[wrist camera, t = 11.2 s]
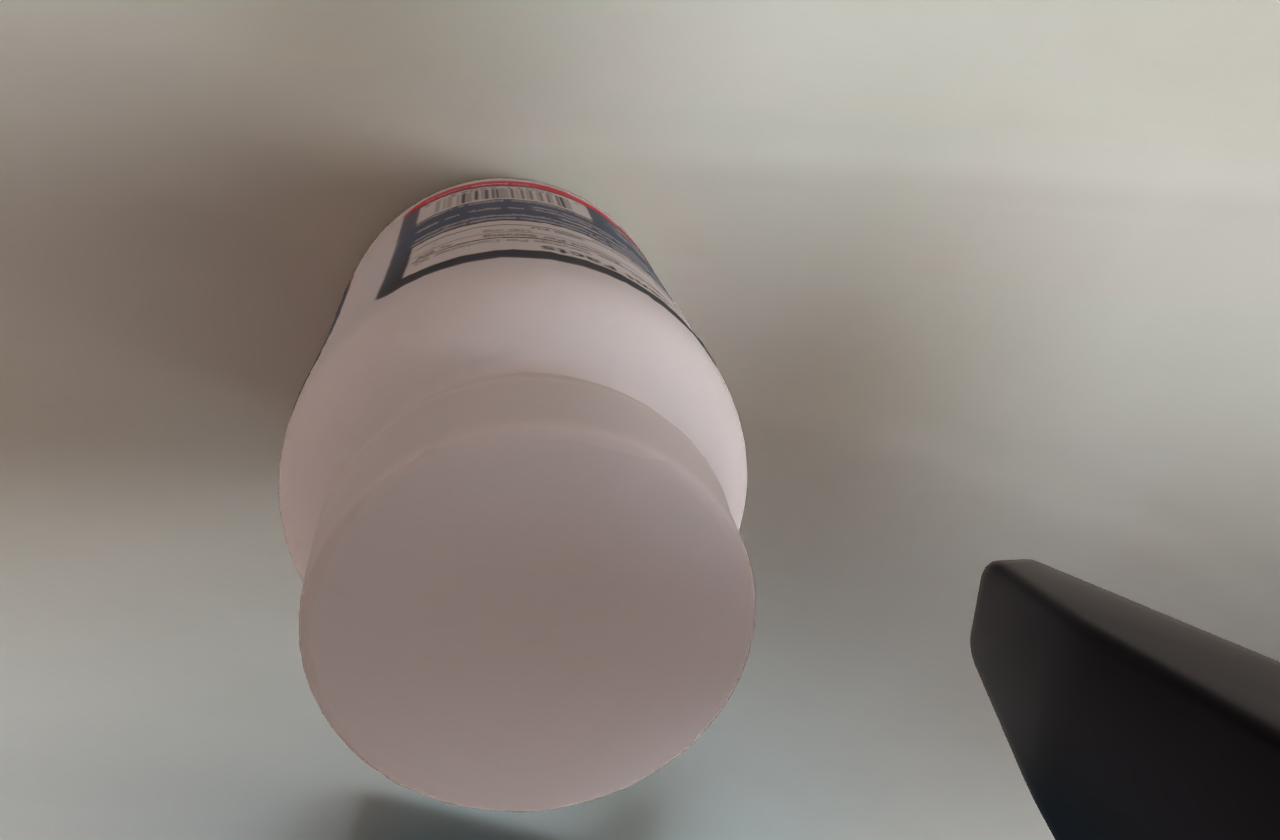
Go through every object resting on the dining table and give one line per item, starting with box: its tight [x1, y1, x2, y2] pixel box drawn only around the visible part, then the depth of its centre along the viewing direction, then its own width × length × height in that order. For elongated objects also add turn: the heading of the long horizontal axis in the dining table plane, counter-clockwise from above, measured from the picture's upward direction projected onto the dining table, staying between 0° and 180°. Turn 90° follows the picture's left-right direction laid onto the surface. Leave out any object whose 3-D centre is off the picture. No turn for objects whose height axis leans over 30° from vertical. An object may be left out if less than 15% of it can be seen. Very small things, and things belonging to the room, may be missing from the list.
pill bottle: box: [279, 178, 756, 812], centre depth 13 cm, size 5×5×9 cm
